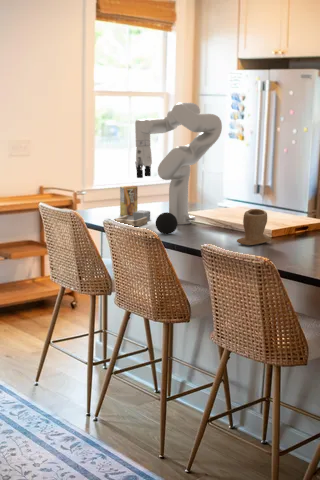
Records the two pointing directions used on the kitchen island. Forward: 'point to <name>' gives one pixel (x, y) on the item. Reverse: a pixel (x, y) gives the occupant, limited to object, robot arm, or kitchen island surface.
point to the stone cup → (254, 227)
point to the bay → (131, 221)
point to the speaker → (166, 223)
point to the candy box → (128, 200)
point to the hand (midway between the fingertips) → (143, 176)
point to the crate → (141, 215)
